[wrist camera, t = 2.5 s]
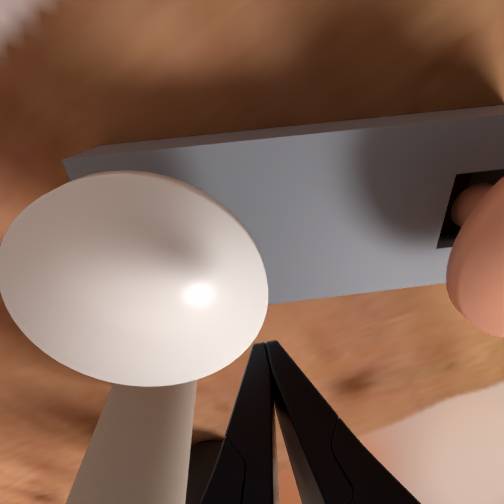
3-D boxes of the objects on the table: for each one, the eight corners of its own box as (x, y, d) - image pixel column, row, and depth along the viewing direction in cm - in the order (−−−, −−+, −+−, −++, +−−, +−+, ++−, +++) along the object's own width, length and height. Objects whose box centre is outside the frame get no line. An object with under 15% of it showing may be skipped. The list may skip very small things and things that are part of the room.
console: (505, 104, 19) (587, 105, 15) (461, 243, 25) (512, 274, 20) (99, 145, 18) (61, 159, 14) (144, 281, 24) (126, 322, 19)
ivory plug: (132, 100, 14) (71, 101, 8) (290, 226, 18) (319, 283, 12) (42, 254, 17) (-42, 326, 12) (191, 330, 21) (180, 410, 16)
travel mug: (102, 365, 28) (-52, 702, 12) (167, 333, 27) (88, 664, 11) (152, 404, 32) (82, 703, 16) (212, 378, 31) (199, 675, 15)
